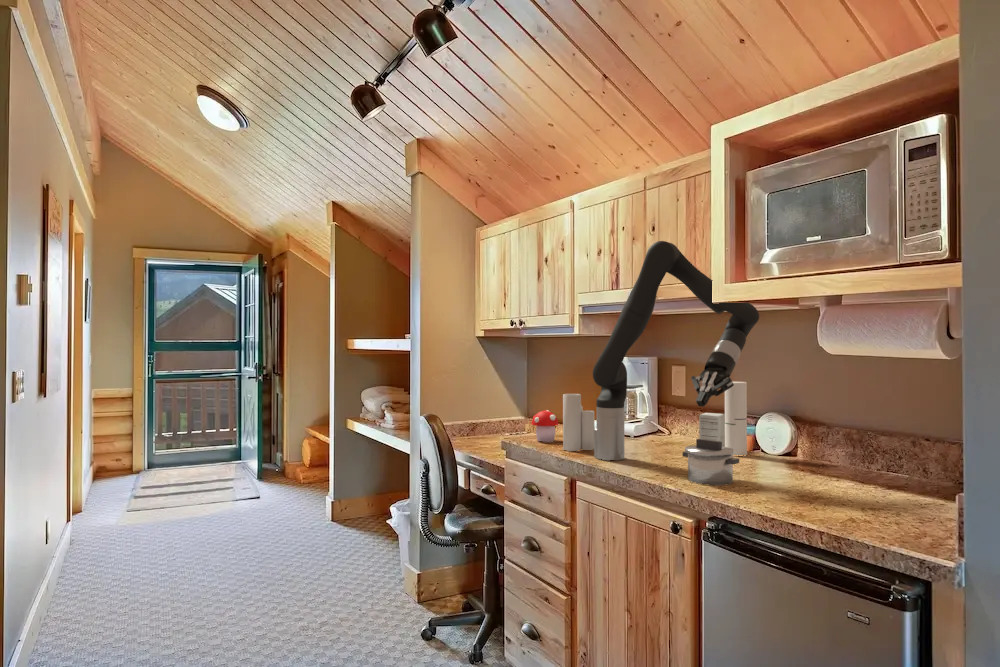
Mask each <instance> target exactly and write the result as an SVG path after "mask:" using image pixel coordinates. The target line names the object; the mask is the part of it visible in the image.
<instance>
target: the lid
mask: <svg viewBox="0 0 1000 667" xmlns="http://www.w3.org/2000/svg"><path fill="white" fill-rule="evenodd" d="M695 441H696V444H695V445H694V444H693V445H688V446H685V447H684V452H686V453H688V454H692V455H698V456H710V457H722V456H731V455H733V449H731V448H728V447H722V442H721V441H714V440H706V439H699V438H696V440H695Z"/></svg>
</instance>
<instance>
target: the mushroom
mask: <svg viewBox="0 0 1000 667" xmlns="http://www.w3.org/2000/svg"><path fill="white" fill-rule="evenodd" d="M530 425H532V426H536V427H535V428H536V429H535V434H536V441H537V440H538V441H537V442H539V441H543V442H542V443H553V442H555V438H556V428H555V427H556V426H558V425H559V420H558V417H557V416H556V415H555V414H554V413H553V412H552V411H550V410H548V409H546V410H545V409H544V410H541V411H539V412H536V414H535V415H533V417H532V420H531V423H530ZM552 441H553V442H552Z"/></svg>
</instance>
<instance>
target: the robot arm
mask: <svg viewBox="0 0 1000 667" xmlns="http://www.w3.org/2000/svg"><path fill="white" fill-rule="evenodd" d="M646 251H647V252H646V254H645V257H644V260H643V263H642V266H641V269H640V272H639V275H638V276H637V279H636V282H635V283H634V285H633V287H632V289H631V291H630V293H629V295H628V297H627V299H626V301H625V303H624V305H623V307H622V309H621V312H620V314H619V316H618V319H617V321H616V323H615V325H614V327H613V330H612V333H611V334H610V337H609V339H608V341H607V343H606V345H605V346H604V348H603V351H602V352H601V354H600V356H598V359H597V361H595V364H594V366H593V368H592V379H593V380H594V383H595V384H596V385H597V386H599V387H601V390H600V394H599V395H598V397H597V398H596V401H595V402H596V410H595V411H596V412H595V413H596V428H595V429H594V450H593V454H594V455H593V457H594V458H596V459H598V460H601V459H602V460H601V461H610V460H615V461H623V460H625V402H626V399H627V390H628V371H627V368H626V365H625V363H624V362H623V361H624V359H625V357H626V355H627V354H628V352H629V350H630V349H631V348H632V346H633V345H634V344H635V343H636V342H637V341H638V339H639V338H640V337H641V336H642V334H643V333H644V331H645V330H646V327H647V325H648V323H649V321H650V320H651V317H652V315H653V312H654V308H655V304H656V300H657V294H658V292H659V288H660V285H661V283H662V281H663V280H664V277H665V276H666V274H667V273H668V274H669V275H671V276H673V277H674V278H676V279H678V280H679V281H680V282H681V283H682V284H683V285H685V286H686V287H687V288H688V290H689V291H691V293H693V295H695V297H696V298H697V299H699V301H701V302H702V303H703V304H704V305H705V306H706V307H708V308H709V309H710V310H712V311H713V312H714V313H716V314H718V315H720V314H723V313H725V312H727V313H729V314H731V316H730V318H729V319H728V320H727V323H726V325H725V328H724V330H723V332H722V334H721V335H720V338H719V340H718V341H717V344H715V346H714V347H713V349H712V351H711V353H710V355H709V357H708V359H707V361H706V362H705V364H704V369H703V370H702V371H701V372H700V374H699V375H698V376H695V375H692V376H691V377H690V379H691V381H692V384H693V386H694V389H695V391H696V392H697V394H698V395H697V396H696V398H695V401H696V402H695V403H696V404H697V406H698V407H702V408H703V407H705V406H706V405H707V404H708V403H709V400H710V398H712V397H713V396H715V397H719V396H720V395H722V394H724V393H725V391H726V390H728V389H729V388H731V387H732V386H734V384H733V382H734V381H733V380H732V378H731V375H732V373H733V371H734V369H735V367H736V366H737V363H738V361H739V359H740V356H741V353H742V351H743V349H744V347H745V345H746V341H747V337H748V336H749V334H750V333H751V330H752V329H753V328H754V327H755V326H756V324H757V323H758V321H759V320H760V312H759V311H758V309H757V308H756V307H755V306H754V305H753V304H752V303H750V302H748V303H719V304H713V303H712V281H713V279H712V278H710V277H709V276H707V275H706V274H705V273H703V272H702V271H701V270H699V268H697V267H696V266H695V265H693V264H692V262H690V261H689V259H687V258H686V256H685V255H684V254H683V253H682V252H681V251H680V249H679V248H678V247H677V245H675V244H674V243H672V242H669V241H666V240H665V241H664V240H659V241H656V242H654V243H652V244H651V245H650V247H649V248H648V250H646Z"/></svg>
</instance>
